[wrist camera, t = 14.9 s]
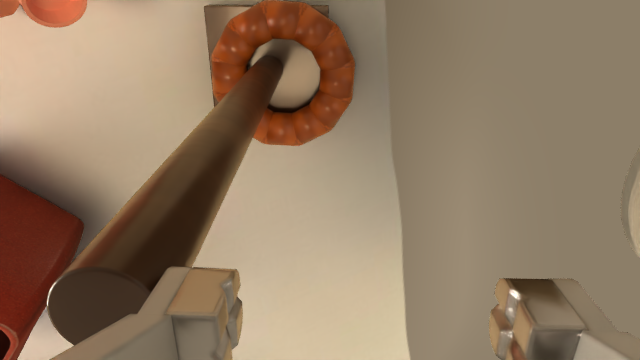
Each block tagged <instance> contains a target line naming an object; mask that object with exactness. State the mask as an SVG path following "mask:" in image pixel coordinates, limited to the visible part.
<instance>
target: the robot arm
mask: <svg viewBox="0 0 640 360" xmlns="http://www.w3.org/2000/svg"><path fill="white" fill-rule="evenodd" d="M240 286H241V285H240V277H239V272H238V271H237V269H219V268H200V267H193V268H192V267H175V266H172V267H169V268H167V269H166V271H165V272H164V274H163V275H162V277H161V278H160V280H159V282H158V283H157V285H156V286H155V288H154V289H153V291H152V292H151V294H150V295H149V297H148V298H147V300H146V301H145V303H144V304H143V306H142V308H141V309H140V311H139V312H138V314H129V315H127V316H126V317H124V318H122V319H120V320H119V321H117V322H115V323H113V324H112V325H110V326H108V327H106V328H105V329H103V330H101V331H99V332H98V333H96V334H94V335H92V336H90V337H89V338H87V339H85V340H83V341H82V342H80V343H78V344H76V345H75V346H73V347H71V348H69V349H68V350H66V351H64V352H62V353H61V354H59V355H57V356H55V357H54V358H52V359H50V360H233V359H232V349H233V348H234V347H236V346H237V345H238V342H239V338H240V335H241V328H242V319H243V309H242V301H241V300H240V299H239V298H238V297H237V294H238V291H239V288H240ZM494 294H495V296H496V298H497V301H498V302H499V304H498V305H496V306H495V307H494V308H493V309H492V310H491V313H490V319H489V336H490V340H491V344H492V348H493V350H494V352H495V355H496V356H497V357H498V358H500V359H501V360H640V339H639V338H637V337H635V336H633V335H631V334H630V333H628V332H619V331H618V330H617V329H616V328H615V326H614V325H613V324H612V323H611V321H610V320H609V319H608V318H607V317H606V315H605V314H604V313H603V312H602V311H601V309H600V308H599V307H598V306H597V304H596V303H595V302H594V301H593V300H592V298H591V297H590V296H589V295H588V294H587V292H586V291H585V290H584V289H583V288H582V286H581V285H580V284H579V283H578V282H577V281H575V280H573V279H511V278H510V279H509V278H506V279H505V278H499V280H498V282H497V284H496V288H495V293H494Z"/></svg>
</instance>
